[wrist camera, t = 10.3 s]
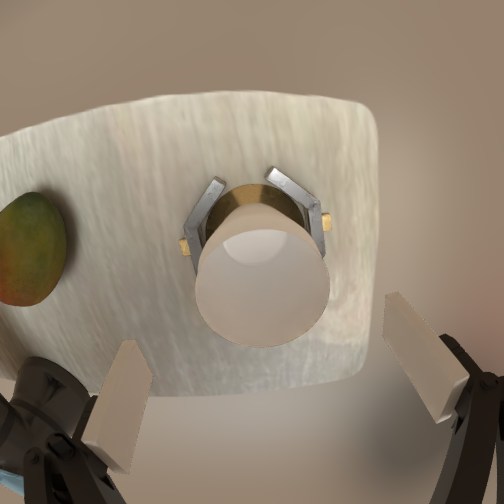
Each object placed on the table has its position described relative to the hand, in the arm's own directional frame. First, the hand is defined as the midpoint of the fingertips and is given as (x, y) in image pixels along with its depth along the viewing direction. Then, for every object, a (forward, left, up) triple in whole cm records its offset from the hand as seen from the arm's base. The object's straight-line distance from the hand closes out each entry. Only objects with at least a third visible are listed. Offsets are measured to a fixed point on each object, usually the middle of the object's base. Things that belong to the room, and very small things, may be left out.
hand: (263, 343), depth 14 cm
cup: (0, 0, -17) cm, 17 cm away
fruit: (-25, +5, -17) cm, 30 cm away
